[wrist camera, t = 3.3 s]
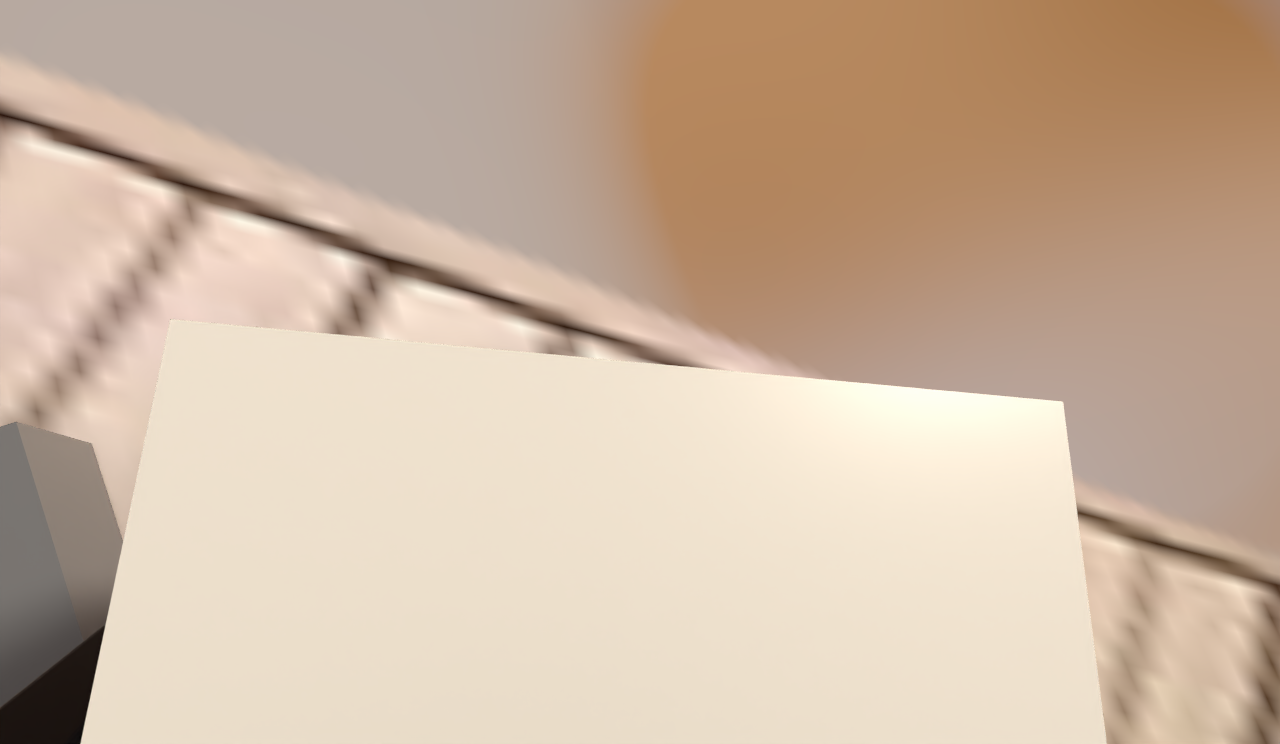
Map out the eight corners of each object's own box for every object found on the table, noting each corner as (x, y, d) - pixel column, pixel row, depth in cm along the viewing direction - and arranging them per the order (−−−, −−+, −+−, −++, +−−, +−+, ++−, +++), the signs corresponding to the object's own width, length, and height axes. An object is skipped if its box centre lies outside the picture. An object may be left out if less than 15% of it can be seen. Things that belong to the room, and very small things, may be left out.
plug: (681, 828, 15) (1204, 1500, 4) (330, 849, 13) (-182, 1969, 3) (685, 496, 17) (1063, 401, 6) (375, 480, 15) (170, 318, 5)
